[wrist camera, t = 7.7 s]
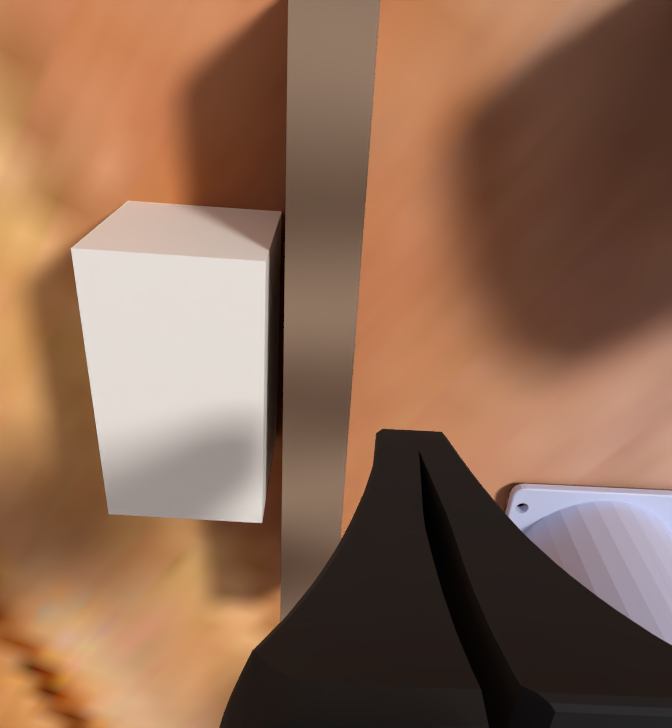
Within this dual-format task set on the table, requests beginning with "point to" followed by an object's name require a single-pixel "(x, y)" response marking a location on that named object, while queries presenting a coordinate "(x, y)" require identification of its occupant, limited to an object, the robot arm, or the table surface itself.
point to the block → (183, 356)
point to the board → (322, 269)
